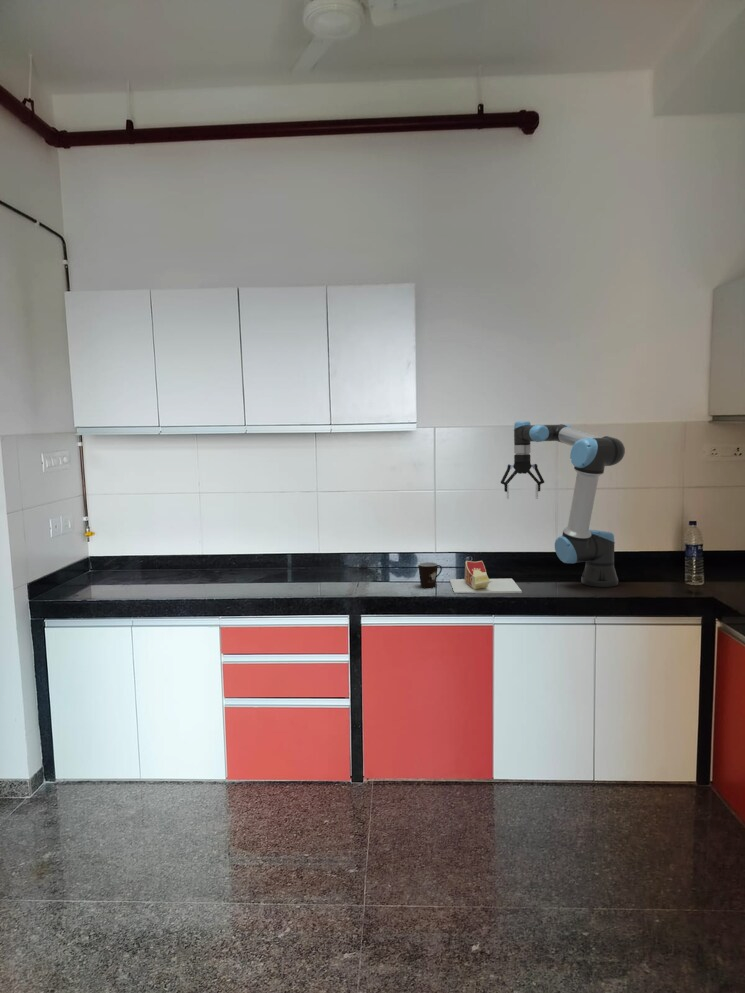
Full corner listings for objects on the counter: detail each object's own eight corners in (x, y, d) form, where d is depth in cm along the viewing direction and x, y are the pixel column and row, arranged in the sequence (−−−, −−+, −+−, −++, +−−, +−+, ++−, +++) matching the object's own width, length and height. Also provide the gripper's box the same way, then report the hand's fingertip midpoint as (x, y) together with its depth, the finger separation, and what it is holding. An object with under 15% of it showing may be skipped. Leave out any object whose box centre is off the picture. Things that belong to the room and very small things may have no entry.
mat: (512, 580, 290) (512, 578, 289) (521, 592, 267) (521, 591, 267) (449, 581, 291) (449, 579, 291) (454, 593, 268) (454, 591, 268)
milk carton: (464, 580, 287) (470, 595, 267) (464, 560, 285) (470, 574, 266) (485, 580, 287) (492, 595, 267) (485, 560, 285) (492, 573, 265)
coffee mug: (421, 589, 276) (421, 566, 275) (416, 585, 284) (415, 563, 283) (447, 587, 278) (447, 565, 277) (441, 583, 287) (441, 561, 286)
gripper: (547, 453, 307) (547, 497, 309) (495, 454, 310) (495, 498, 312) (550, 453, 300) (550, 498, 302) (496, 454, 302) (496, 499, 304)
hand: (522, 498), depth 307 cm, fingers open, 13 cm apart
